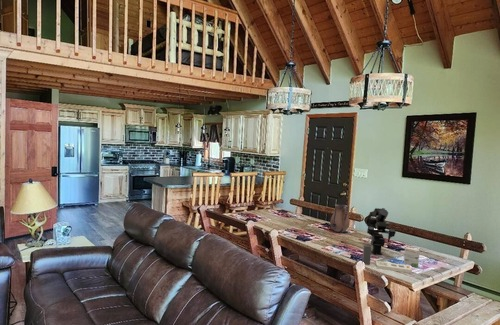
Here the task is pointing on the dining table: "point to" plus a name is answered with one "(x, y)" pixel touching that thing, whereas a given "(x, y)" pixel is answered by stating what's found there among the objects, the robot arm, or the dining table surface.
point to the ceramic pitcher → (340, 218)
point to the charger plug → (366, 254)
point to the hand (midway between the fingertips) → (381, 241)
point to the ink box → (411, 256)
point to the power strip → (393, 267)
